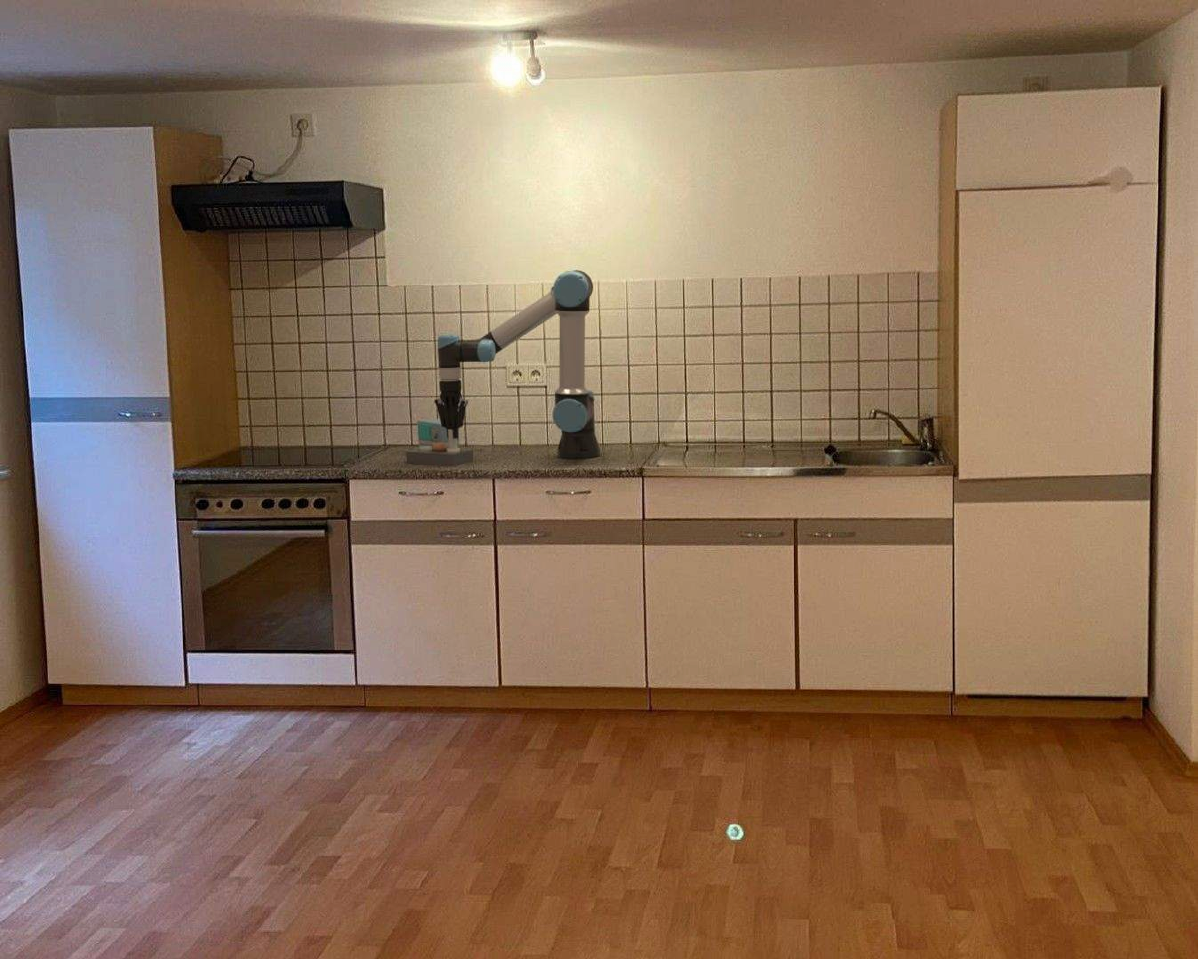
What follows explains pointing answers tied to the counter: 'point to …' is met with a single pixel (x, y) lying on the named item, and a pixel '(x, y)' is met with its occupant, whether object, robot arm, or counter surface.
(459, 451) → the button ivory
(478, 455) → the counter surface
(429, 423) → the radio
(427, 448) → the button sage
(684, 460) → the counter surface
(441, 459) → the grey piece
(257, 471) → the counter surface
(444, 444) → the button terracotta
